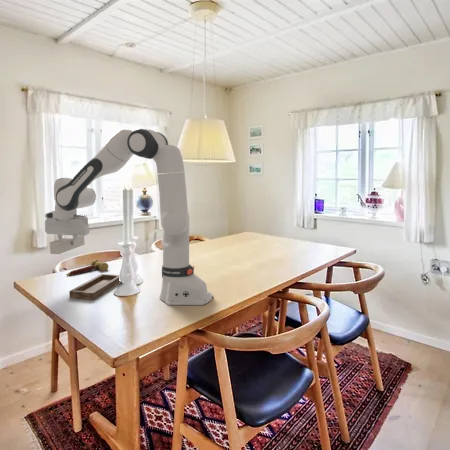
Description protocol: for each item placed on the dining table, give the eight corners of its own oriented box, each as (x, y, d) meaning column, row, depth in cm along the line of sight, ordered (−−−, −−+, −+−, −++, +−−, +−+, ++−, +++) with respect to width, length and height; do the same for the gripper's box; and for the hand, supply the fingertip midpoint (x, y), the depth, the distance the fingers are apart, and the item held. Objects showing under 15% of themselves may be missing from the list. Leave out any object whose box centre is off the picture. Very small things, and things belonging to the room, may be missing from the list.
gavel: (70, 272, 177) (61, 268, 184) (71, 281, 178) (62, 277, 185) (108, 262, 193) (98, 258, 199) (109, 270, 194) (99, 266, 200)
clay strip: (84, 244, 172) (83, 234, 171) (58, 254, 152) (58, 242, 152) (76, 244, 172) (76, 234, 172) (50, 253, 153) (49, 242, 152)
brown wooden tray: (122, 281, 174) (122, 275, 174) (93, 300, 149) (93, 293, 148) (102, 279, 176) (101, 273, 176) (69, 298, 151) (69, 291, 151)
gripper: (91, 213, 161) (92, 243, 163) (50, 212, 165) (53, 242, 167) (83, 215, 155) (85, 246, 157) (41, 214, 159) (43, 244, 161)
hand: (68, 244), depth 162 cm, fingers closed on clay strip, 4 cm apart
